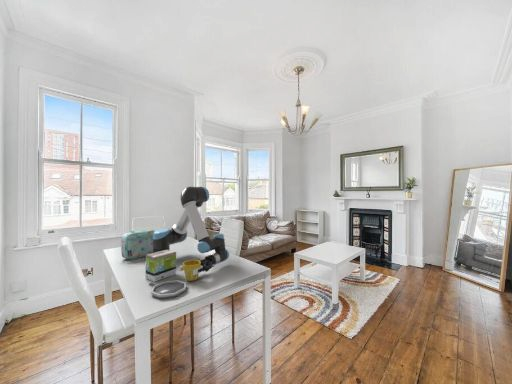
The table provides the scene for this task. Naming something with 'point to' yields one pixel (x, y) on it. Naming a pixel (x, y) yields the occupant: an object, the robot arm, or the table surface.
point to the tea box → (160, 265)
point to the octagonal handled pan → (168, 289)
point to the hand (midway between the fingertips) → (186, 270)
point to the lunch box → (137, 244)
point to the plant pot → (191, 269)
